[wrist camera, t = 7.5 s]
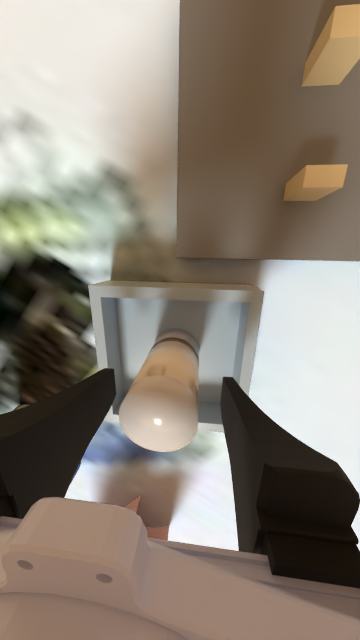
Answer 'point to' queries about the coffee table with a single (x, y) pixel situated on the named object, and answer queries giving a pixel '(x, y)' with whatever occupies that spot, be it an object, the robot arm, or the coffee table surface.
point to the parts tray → (177, 313)
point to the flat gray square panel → (269, 130)
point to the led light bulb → (164, 395)
